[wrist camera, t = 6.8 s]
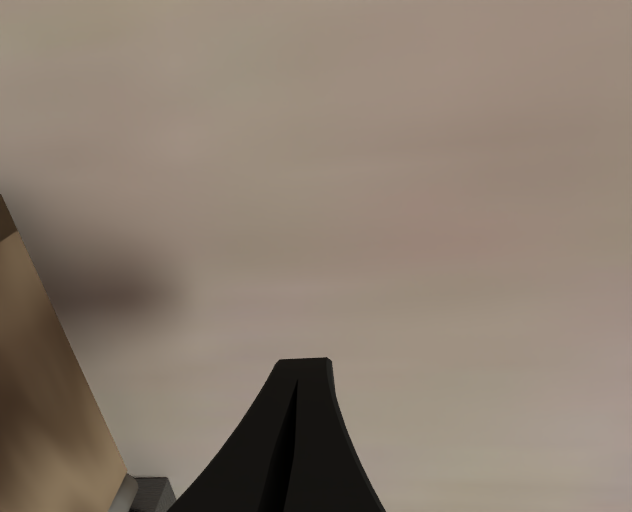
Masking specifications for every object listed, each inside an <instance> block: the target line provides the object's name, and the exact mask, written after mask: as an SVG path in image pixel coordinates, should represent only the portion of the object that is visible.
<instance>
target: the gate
mask: <svg viewBox="0 0 632 512" xmlns="http://www.w3.org/2000/svg"><path fill="white" fill-rule="evenodd" d="M127 471H128V470H127V468H126V466H125V464H124V462H123V460H122V457H121V455H120V453H119V451H118V449H117V446H116V444H115V442H114V440H113V438H112V436H111V433H110V431H109V429H108V427H107V425H106V422H105V420H104V418H103V416H102V414H101V412H100V409H99V407H98V405H97V403H96V401H95V398H94V396H93V394H92V392H91V390H90V387H89V385H88V383H87V381H86V379H85V377H84V374H83V372H82V370H81V368H80V366H79V363H78V361H77V359H76V357H75V355H74V353H73V350H72V348H71V346H70V344H69V342H68V339H67V337H66V335H65V333H64V331H63V328H62V326H61V324H60V322H59V320H58V318H57V315H56V313H55V311H54V309H53V307H52V304H51V302H50V300H49V298H48V296H47V294H46V291H45V289H44V287H43V285H42V283H41V280H40V278H39V276H38V274H37V272H36V270H35V267H34V265H33V263H32V261H31V259H30V256H29V254H28V252H27V250H26V248H25V245H24V243H23V241H22V239H21V237H20V235H19V232H18V230H17V228H16V226H15V224H14V221H13V219H12V217H11V215H10V213H9V211H8V208H7V206H6V204H5V202H4V200H3V197H2V195H1V194H0V512H129V509H130V507H131V505H132V502H133V500H134V498H135V496H136V493H137V491H138V483H137V481H136V480H135V479H134V478H133V477H132V476H130V475H129V474H127Z"/></svg>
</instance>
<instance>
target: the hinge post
mask: <svg viewBox="0 0 632 512" xmlns="http://www.w3.org/2000/svg"><path fill="white" fill-rule="evenodd" d="M135 480H136V481H137V483H138V491H137V493H136V496H135V498H134V500H133V502H132V505H131V507H130V509H129V512H166V511H167V510H168V509H169V508H170V507H171V506H172V505H173V504H174V503H175V502H176V498H175V495H174V493H173V490H172V488H171V485H170V482H169V480H168V478H141V479H135Z"/></svg>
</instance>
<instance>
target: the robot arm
mask: <svg viewBox="0 0 632 512" xmlns="http://www.w3.org/2000/svg"><path fill="white" fill-rule="evenodd" d="M166 512H386V511H385V509H384V507H383V506H382V504H381V502H380V500H379V498H378V496H377V494H376V493H375V491H374V489H373V487H372V485H371V483H370V481H369V479H368V477H367V475H366V473H365V471H364V469H363V467H362V465H361V462H360V460H359V458H358V456H357V453H356V451H355V449H354V446H353V444H352V441H351V439H350V437H349V434H348V431H347V429H346V426H345V423H344V420H343V417H342V414H341V411H340V408H339V405H338V402H337V398H336V393H335V384H334V376H333V367H332V361H331V360H330V359H328V358H327V357H324V358H303V359H281V360H279V361H278V362H277V363H276V364H275V366H274V368H273V370H272V372H271V373H270V375H269V377H268V379H267V381H266V382H265V384H264V386H263V387H262V389H261V391H260V392H259V394H258V396H257V397H256V399H255V400H254V402H253V404H252V405H251V407H250V408H249V410H248V411H247V413H246V414H245V416H244V417H243V419H242V420H241V422H240V423H239V425H238V426H237V428H236V429H235V430H234V432H233V433H232V434H231V436H230V437H229V438H228V440H227V441H226V443H225V444H224V445H223V447H222V448H221V449H220V451H219V452H218V453H217V455H216V456H215V457H214V458H213V460H212V461H211V462H210V463H209V465H208V466H207V467H206V468H205V469H204V471H203V472H202V473H201V474H200V475H199V476H198V477H197V479H196V480H195V481H194V482H193V483H192V484H191V486H190V487H189V488H188V489H187V490H186V491H185V492H184V493H183V494H182V495H181V496H180V497H179V498H178V499H177V501H176V502H175V503H174V504H173V505H172V506H171V507H170V508H169V509H168V510H167V511H166Z"/></svg>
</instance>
